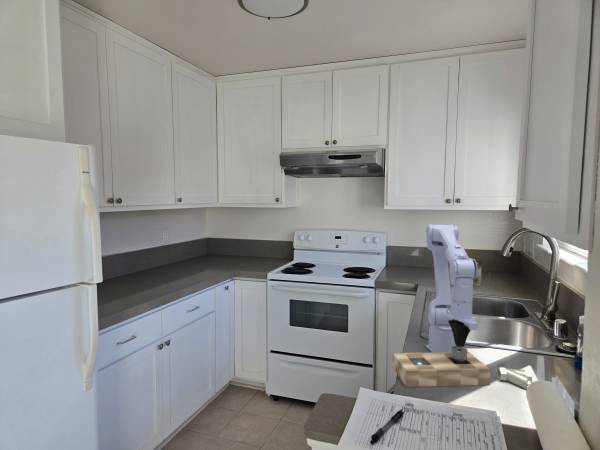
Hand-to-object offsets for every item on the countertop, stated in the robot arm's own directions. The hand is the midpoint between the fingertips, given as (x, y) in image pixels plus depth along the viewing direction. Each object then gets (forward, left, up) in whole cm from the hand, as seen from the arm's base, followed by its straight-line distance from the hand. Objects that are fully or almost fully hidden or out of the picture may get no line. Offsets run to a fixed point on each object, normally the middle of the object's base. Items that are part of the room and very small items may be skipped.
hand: (459, 345), depth 109 cm
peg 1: (0, -12, -9) cm, 15 cm away
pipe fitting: (+6, +14, -9) cm, 18 cm away
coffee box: (-114, +67, -9) cm, 133 cm away
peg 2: (0, 0, -5) cm, 5 cm away
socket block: (0, -6, -9) cm, 11 cm away
